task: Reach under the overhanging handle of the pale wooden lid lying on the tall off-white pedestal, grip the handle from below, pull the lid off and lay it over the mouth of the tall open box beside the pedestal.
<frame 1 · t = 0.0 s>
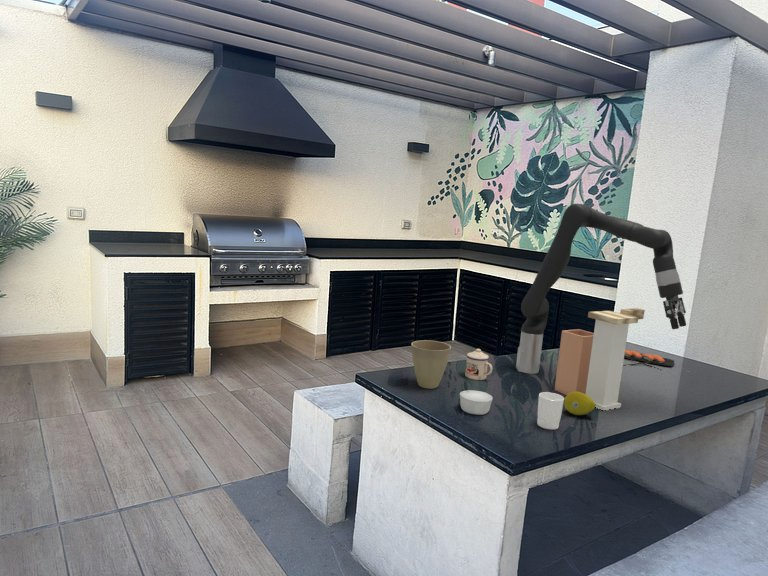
hand: (679, 327, 200), 31 cm above the table, tool tilted 20°, fingers open, 8 cm apart
ramekin: (474, 410, 191), on the table
lemon: (577, 415, 194), on the table
pedestal: (600, 404, 206), on the table
wooden lid: (612, 320, 201), point 32 cm above the table, touching pedestal
teacup with lid: (478, 378, 227), on the table
white cup: (547, 426, 182), on the table
plant pot: (427, 386, 213), on the table
tall open box: (573, 392, 217), on the table
sushi plate: (638, 363, 272), on the table
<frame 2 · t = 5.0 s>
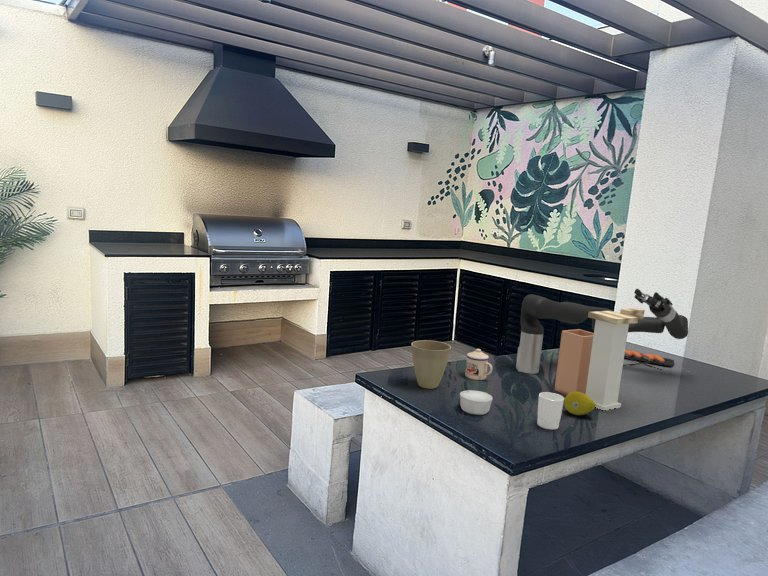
hand: (645, 292, 229), 39 cm above the table, tool pointing upward, fingers open, 8 cm apart
nothing on the table moved.
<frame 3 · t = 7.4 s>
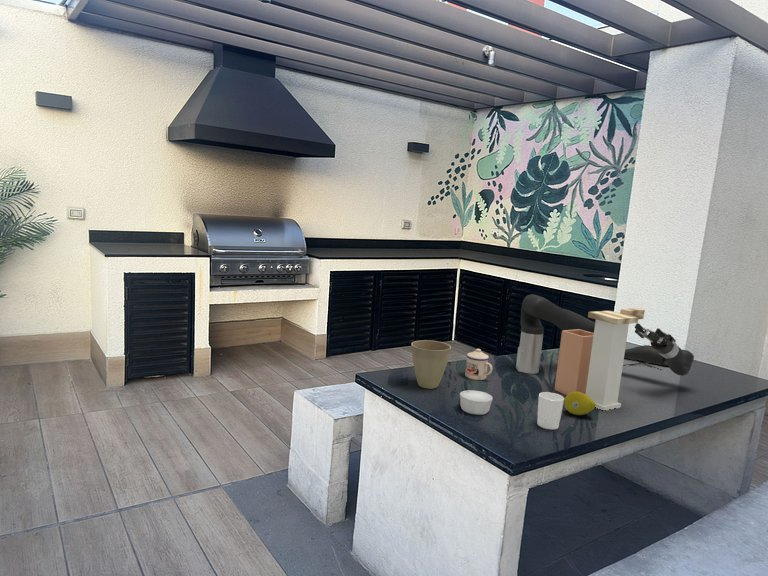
hand: (646, 327, 213), 28 cm above the table, tool pointing upward, fingers open, 8 cm apart
nothing on the table moved.
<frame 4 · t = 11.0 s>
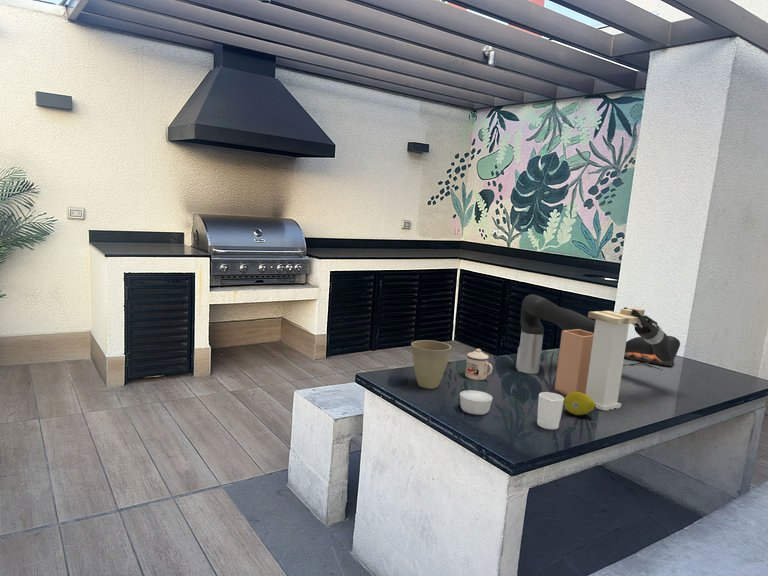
hand: (628, 310, 205), 35 cm above the table, tool pointing upward, fingers closed on wooden lid, 3 cm apart
wooden lid: (612, 320, 201), point 32 cm above the table, touching gripper, pedestal
everything else where it was.
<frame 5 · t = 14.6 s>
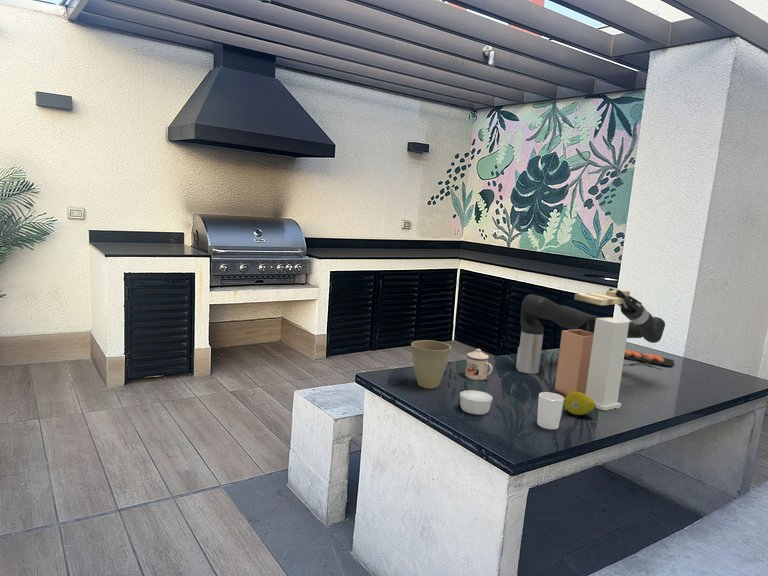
hand: (613, 291, 213), 41 cm above the table, tool pointing upward, fingers closed on wooden lid, 3 cm apart
wooden lid: (597, 301, 210), point 37 cm above the table, touching gripper
everything else where it was.
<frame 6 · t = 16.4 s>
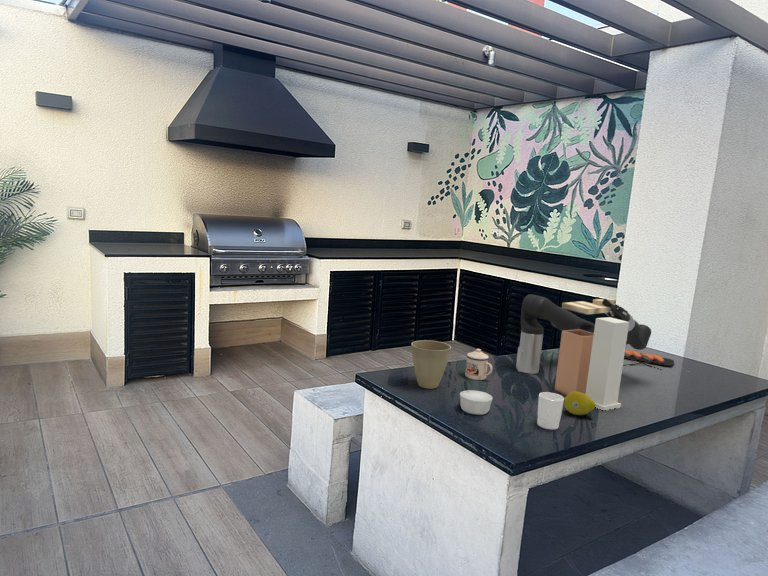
hand: (600, 299, 216), 37 cm above the table, tool pointing upward, fingers closed on wooden lid, 3 cm apart
wooden lid: (584, 310, 212), point 33 cm above the table, touching gripper
everything else where it was.
when the fingers open (28 cm above the table, at t = 18.5 s): wooden lid stays where it is, resting on tall open box.
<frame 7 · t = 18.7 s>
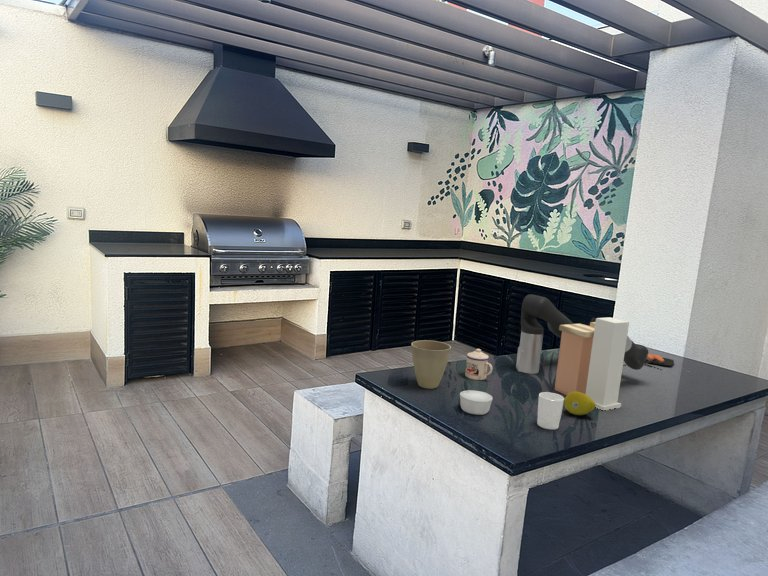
hand: (597, 321, 218), 28 cm above the table, tool pointing upward, fingers open, 4 cm apart
wooden lid: (581, 332, 214), point 24 cm above the table, touching tall open box
everything else where it was.
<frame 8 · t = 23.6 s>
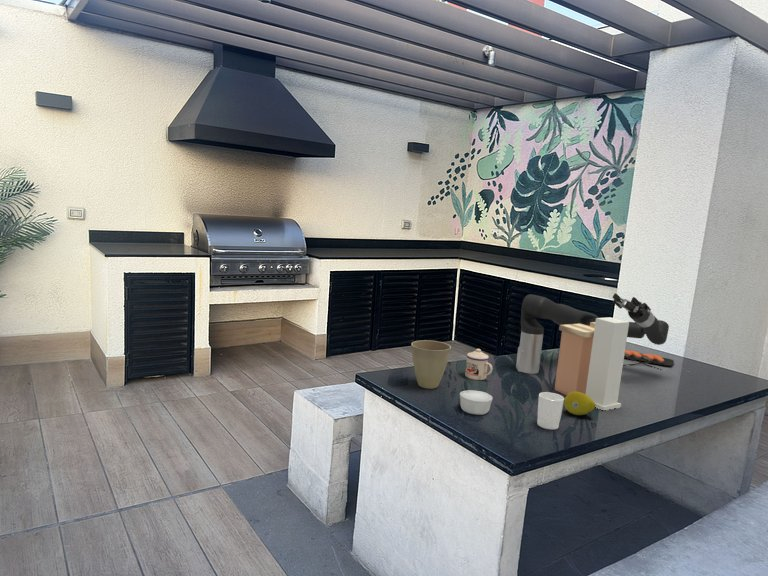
hand: (623, 297, 226), 37 cm above the table, tool pointing upward, fingers open, 8 cm apart
nothing on the table moved.
at the end: wooden lid inside the target area on the tall open box (0.4 cm from its centre), point 24.0 cm above the tall open box's base; wooden lid tilted 0°; the gripper is holding nothing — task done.
